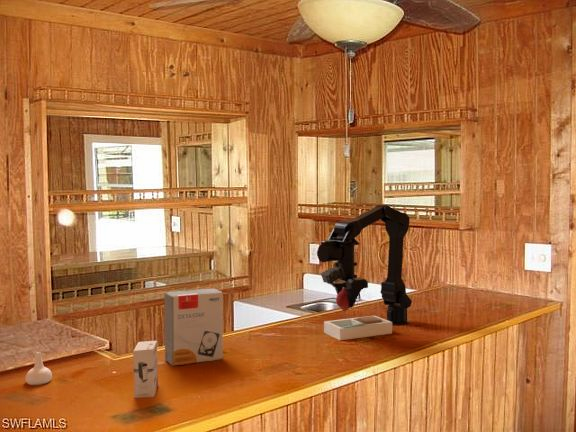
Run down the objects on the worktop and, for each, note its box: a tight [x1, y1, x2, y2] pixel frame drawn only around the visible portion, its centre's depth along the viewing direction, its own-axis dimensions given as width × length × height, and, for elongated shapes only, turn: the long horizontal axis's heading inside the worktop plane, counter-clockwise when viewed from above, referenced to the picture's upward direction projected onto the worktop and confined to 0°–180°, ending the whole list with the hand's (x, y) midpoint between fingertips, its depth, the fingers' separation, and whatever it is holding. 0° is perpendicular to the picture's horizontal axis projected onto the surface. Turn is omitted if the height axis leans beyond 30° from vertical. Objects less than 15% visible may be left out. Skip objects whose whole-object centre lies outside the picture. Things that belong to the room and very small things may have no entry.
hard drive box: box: [163, 287, 224, 367], centre depth 177 cm, size 16×8×20 cm, turn 117°
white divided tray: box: [323, 315, 393, 341], centre depth 206 cm, size 20×11×4 cm, turn 114°
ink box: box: [132, 340, 159, 399], centre depth 151 cm, size 9×5×12 cm, turn 5°
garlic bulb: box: [25, 351, 53, 386], centre depth 159 cm, size 6×6×8 cm
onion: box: [335, 287, 350, 312], centre depth 203 cm, size 6×6×8 cm
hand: (346, 305), depth 204 cm, fingers closed on onion, 6 cm apart
